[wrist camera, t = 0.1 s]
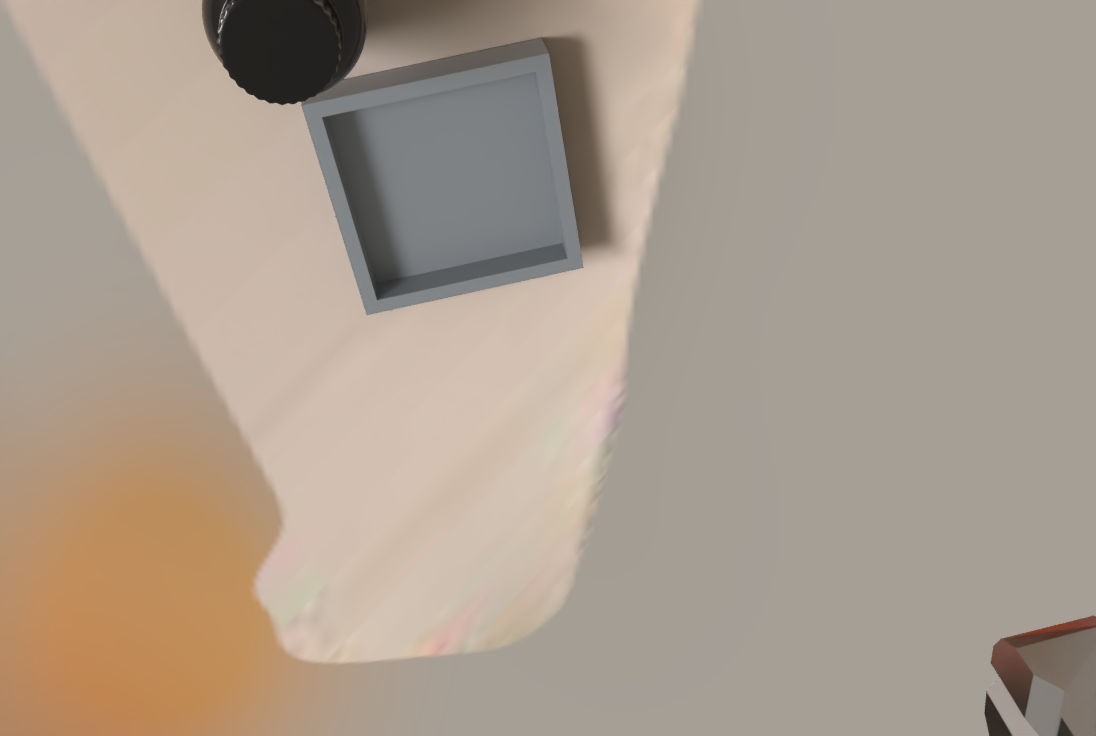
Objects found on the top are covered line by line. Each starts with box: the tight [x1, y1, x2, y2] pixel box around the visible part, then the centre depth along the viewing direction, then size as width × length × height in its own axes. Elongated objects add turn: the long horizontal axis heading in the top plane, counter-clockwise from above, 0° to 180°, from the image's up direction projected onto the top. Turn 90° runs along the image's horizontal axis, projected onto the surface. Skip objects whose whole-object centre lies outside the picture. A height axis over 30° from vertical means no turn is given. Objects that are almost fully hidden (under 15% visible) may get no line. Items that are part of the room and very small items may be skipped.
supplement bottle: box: [202, 0, 368, 105], centre depth 46 cm, size 7×7×12 cm
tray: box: [301, 38, 583, 315], centre depth 57 cm, size 13×13×2 cm
